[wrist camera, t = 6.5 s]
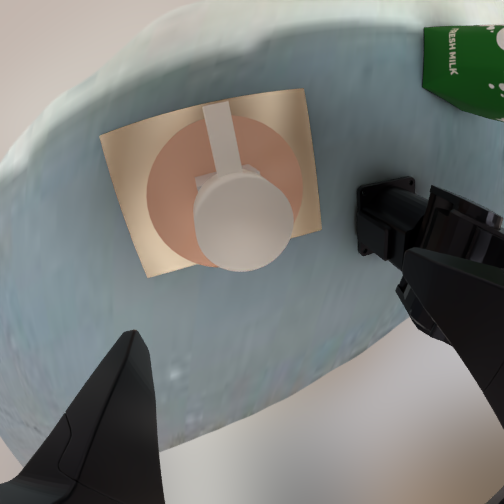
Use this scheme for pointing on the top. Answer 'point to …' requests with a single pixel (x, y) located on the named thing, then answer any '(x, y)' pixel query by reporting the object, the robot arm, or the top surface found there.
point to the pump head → (238, 205)
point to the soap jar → (203, 168)
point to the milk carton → (466, 67)
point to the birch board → (165, 127)
